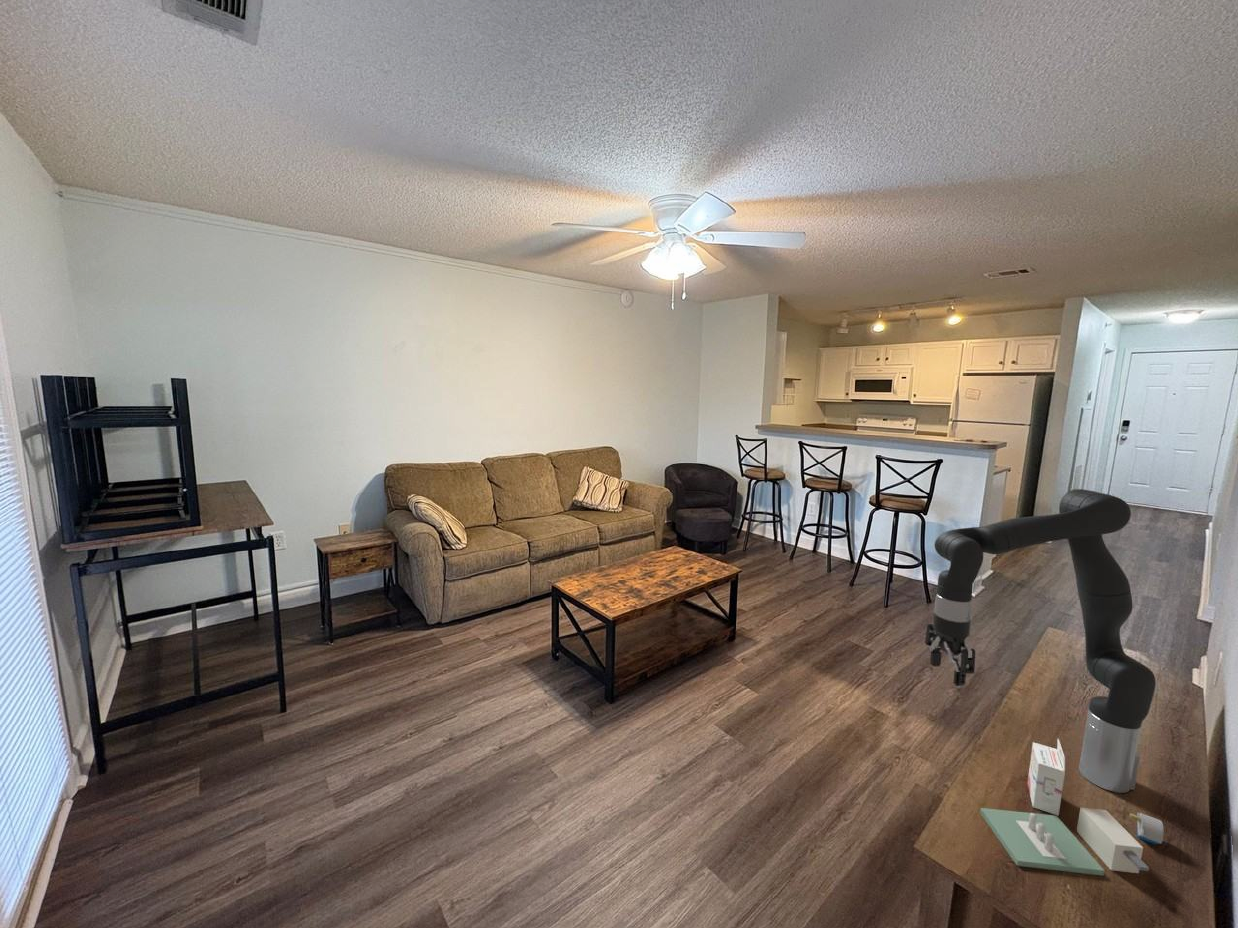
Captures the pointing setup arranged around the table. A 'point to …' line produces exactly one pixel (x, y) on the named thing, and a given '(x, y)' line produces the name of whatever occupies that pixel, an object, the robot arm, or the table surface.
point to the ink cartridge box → (1046, 777)
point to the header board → (1040, 841)
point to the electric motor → (1149, 828)
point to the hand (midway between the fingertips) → (946, 674)
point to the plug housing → (1110, 841)
